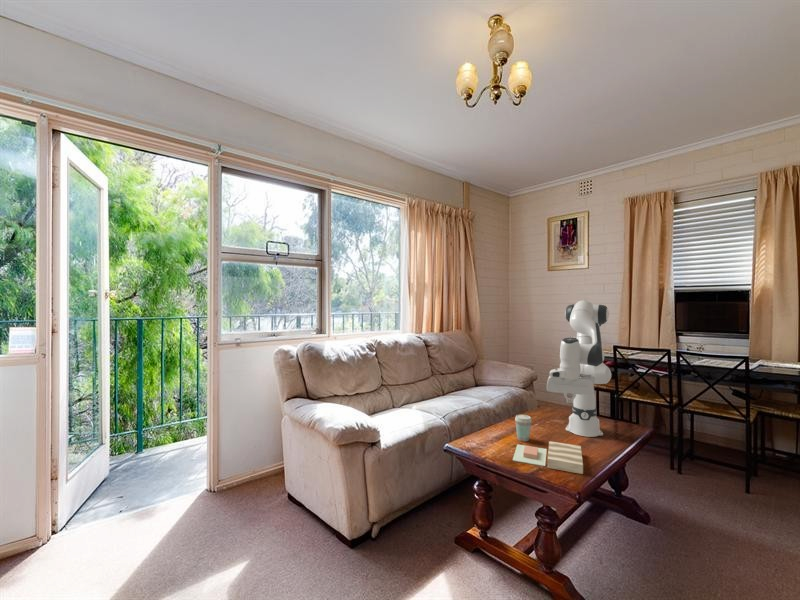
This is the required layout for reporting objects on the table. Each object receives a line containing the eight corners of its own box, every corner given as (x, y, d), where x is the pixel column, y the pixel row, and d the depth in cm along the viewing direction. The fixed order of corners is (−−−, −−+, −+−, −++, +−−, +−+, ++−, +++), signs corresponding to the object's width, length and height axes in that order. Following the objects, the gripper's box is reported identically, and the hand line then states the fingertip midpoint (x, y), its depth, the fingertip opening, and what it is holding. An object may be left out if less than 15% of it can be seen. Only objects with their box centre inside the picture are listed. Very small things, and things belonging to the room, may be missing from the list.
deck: (549, 449, 183) (549, 441, 183) (580, 454, 177) (580, 445, 177) (547, 467, 163) (547, 458, 163) (582, 474, 157) (583, 464, 157)
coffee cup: (530, 443, 190) (530, 420, 190) (513, 440, 194) (513, 417, 194) (533, 438, 197) (533, 415, 197) (516, 435, 201) (516, 413, 201)
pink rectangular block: (538, 447, 179) (538, 452, 179) (525, 445, 181) (525, 449, 181) (537, 455, 170) (537, 459, 170) (523, 452, 173) (523, 457, 173)
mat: (517, 444, 188) (517, 444, 188) (546, 449, 182) (546, 449, 182) (512, 460, 170) (512, 459, 170) (545, 466, 164) (545, 465, 164)
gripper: (594, 373, 171) (594, 403, 171) (547, 370, 179) (547, 398, 180) (595, 376, 165) (595, 407, 165) (546, 372, 173) (546, 402, 174)
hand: (569, 402), depth 173 cm, fingers closed
